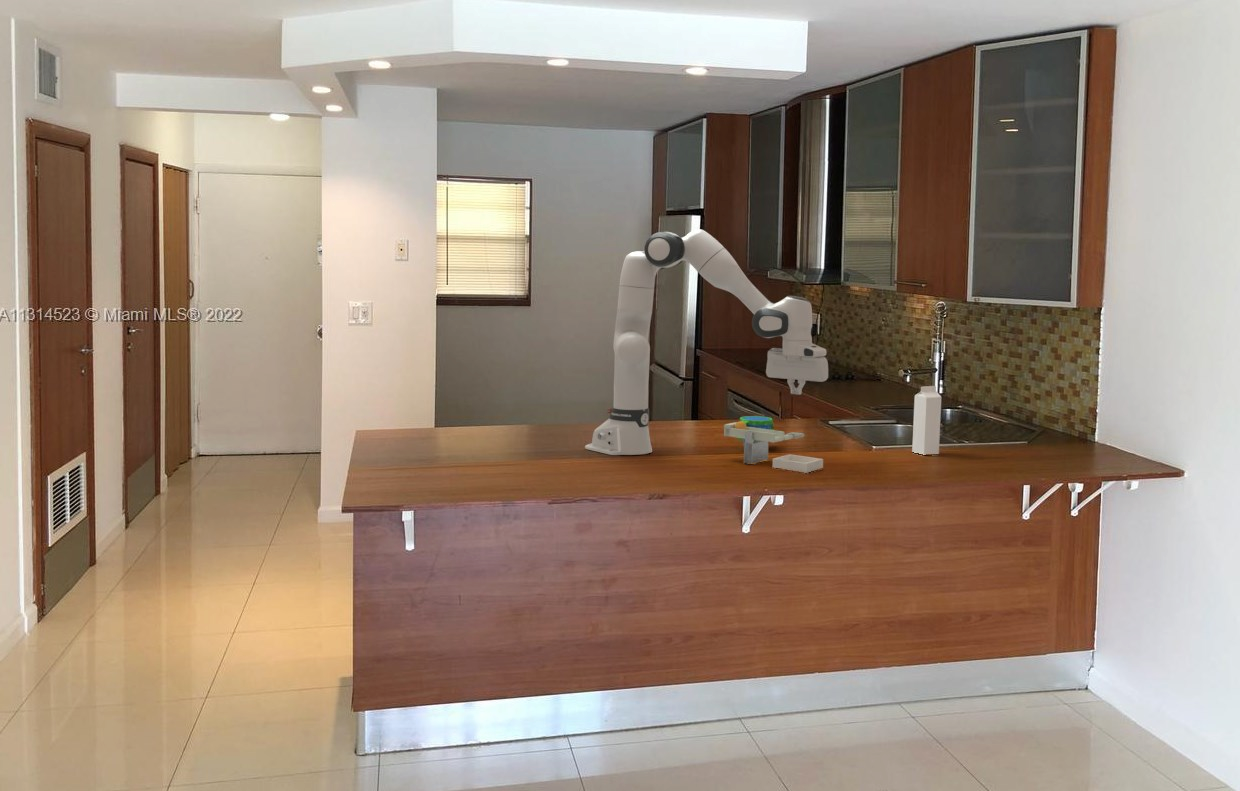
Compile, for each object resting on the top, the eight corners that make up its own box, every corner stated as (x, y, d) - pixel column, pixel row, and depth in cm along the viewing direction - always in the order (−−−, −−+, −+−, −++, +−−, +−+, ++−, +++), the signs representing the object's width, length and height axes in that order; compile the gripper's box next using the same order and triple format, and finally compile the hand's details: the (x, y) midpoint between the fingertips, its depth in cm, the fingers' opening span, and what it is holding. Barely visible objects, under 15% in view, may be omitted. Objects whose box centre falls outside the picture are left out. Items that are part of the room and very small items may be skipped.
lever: (723, 435, 340) (724, 424, 340) (751, 429, 352) (751, 418, 352) (778, 443, 328) (778, 431, 327) (804, 436, 340) (804, 425, 339)
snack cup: (762, 444, 369) (763, 414, 368) (784, 448, 361) (785, 418, 359) (726, 448, 361) (727, 417, 359) (747, 453, 352) (748, 422, 351)
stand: (743, 463, 335) (744, 432, 333) (759, 459, 342) (760, 428, 340) (752, 465, 333) (752, 433, 332) (767, 460, 340) (768, 429, 338)
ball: (732, 432, 340) (732, 421, 339) (738, 431, 342) (739, 420, 342) (742, 434, 337) (742, 422, 337) (748, 432, 340) (748, 421, 340)
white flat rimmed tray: (772, 468, 328) (772, 458, 328) (789, 463, 335) (789, 454, 335) (806, 473, 321) (806, 463, 320) (822, 468, 328) (823, 459, 328)
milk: (938, 455, 352) (942, 387, 349) (923, 456, 350) (927, 387, 347) (926, 451, 358) (930, 384, 355) (911, 453, 355) (914, 385, 352)
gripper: (762, 347, 340) (761, 392, 342) (821, 351, 327) (819, 397, 329) (773, 346, 345) (772, 390, 346) (831, 350, 332) (830, 395, 334)
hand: (796, 394), depth 337 cm, fingers closed
